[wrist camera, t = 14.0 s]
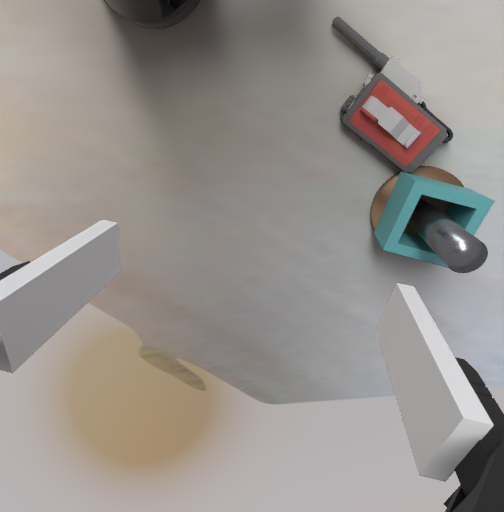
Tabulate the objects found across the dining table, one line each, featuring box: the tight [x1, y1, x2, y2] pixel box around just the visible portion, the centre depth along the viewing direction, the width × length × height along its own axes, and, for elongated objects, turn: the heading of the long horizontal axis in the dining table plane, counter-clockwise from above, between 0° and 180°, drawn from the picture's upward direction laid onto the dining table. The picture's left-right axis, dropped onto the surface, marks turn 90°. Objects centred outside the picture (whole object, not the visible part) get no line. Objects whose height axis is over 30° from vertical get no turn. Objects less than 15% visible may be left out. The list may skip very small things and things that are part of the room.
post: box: [408, 200, 488, 273], centre depth 36 cm, size 4×4×14 cm
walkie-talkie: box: [332, 17, 453, 172], centre depth 37 cm, size 9×4×20 cm
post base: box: [371, 166, 464, 236], centre depth 43 cm, size 12×12×2 cm
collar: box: [374, 171, 494, 268], centre depth 40 cm, size 9×9×6 cm
